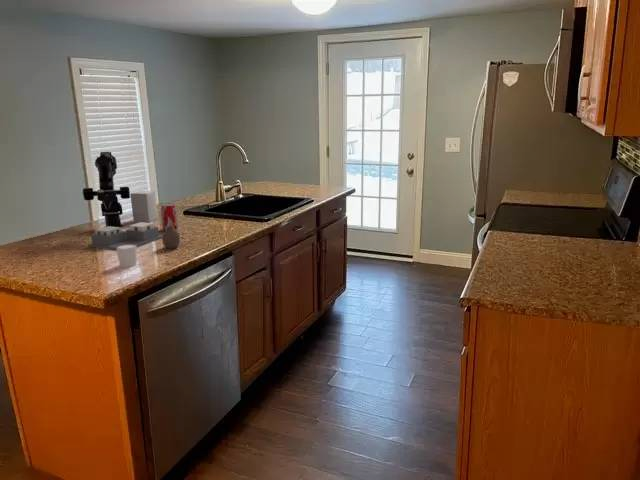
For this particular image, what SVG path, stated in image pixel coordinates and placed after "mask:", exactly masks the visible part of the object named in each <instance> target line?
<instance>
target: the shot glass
mask: <svg viewBox="0 0 640 480" xmlns="http://www.w3.org/2000/svg"><path fill="white" fill-rule="evenodd" d="M116 249H117V250H116V253H117V257H118V261H119V266H120V268H132V267H135V266H137V261H138V260H137V247H136V245H121V246H118V247H117V248H116Z"/></svg>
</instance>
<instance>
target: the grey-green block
mask: <svg viewBox="0 0 640 480" xmlns="http://www.w3.org/2000/svg"><path fill="white" fill-rule="evenodd" d="M94 231H95V233H96V235H105V236H110V235H113V234H116V233H120V232H121V231H122V227H111V226H107V227H105V226H103V227H101V228H97V229H95V230H94Z"/></svg>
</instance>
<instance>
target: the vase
mask: <svg viewBox="0 0 640 480" xmlns="http://www.w3.org/2000/svg"><path fill="white" fill-rule="evenodd" d="M162 235H163V237H162V238H161V240H162V243H163V246H164V247H165V248H166V249H168V250H170V249H171V250H173V249H177V248H178V247H179V246H180V243H181V236H180V233H179V231H177V229H176V230H175V229H174V227H173V226H168V227H167V229H166V230H164V232H163V234H162Z"/></svg>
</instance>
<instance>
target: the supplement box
mask: <svg viewBox="0 0 640 480" xmlns="http://www.w3.org/2000/svg"><path fill="white" fill-rule="evenodd" d="M156 201H157V200H156V191H155V190H137V191H135V192H134V191H133V192H130V203H131V211H132V219H133V223H140V222H145V223H153V222H154V221H157V220H158V210H157V202H156Z"/></svg>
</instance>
